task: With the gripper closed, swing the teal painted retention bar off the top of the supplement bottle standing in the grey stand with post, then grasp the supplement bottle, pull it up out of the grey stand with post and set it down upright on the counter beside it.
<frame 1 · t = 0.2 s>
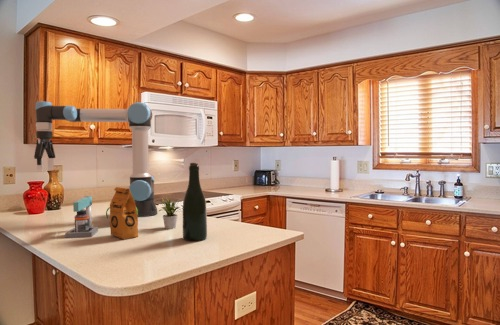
hand: (45, 170, 187), 28 cm above the countertop, fingers open, 13 cm apart
grey stand with post: (82, 234, 161), on the countertop
dark green wine bottle: (195, 239, 152), on the countertop
clip: (83, 203, 163), point 14 cm above the countertop, hinge at 0.0°
house plant: (167, 228, 173), on the countertop
supplement bottle: (82, 234, 161), resting in grey stand with post
snack cup: (122, 224, 183), on the countertop
coffee package: (124, 237, 156), on the countertop
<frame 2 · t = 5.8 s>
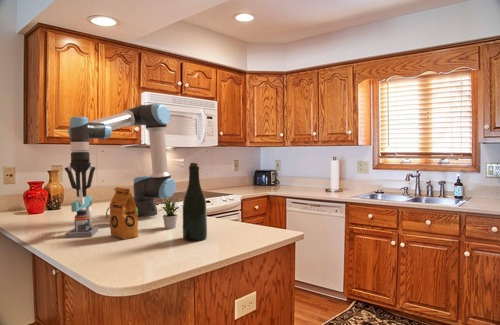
hand: (81, 203, 157), 15 cm above the countertop, fingers closed
clip: (82, 203, 163), point 14 cm above the countertop, hinge at 2.6°, touching gripper
everything else where it was.
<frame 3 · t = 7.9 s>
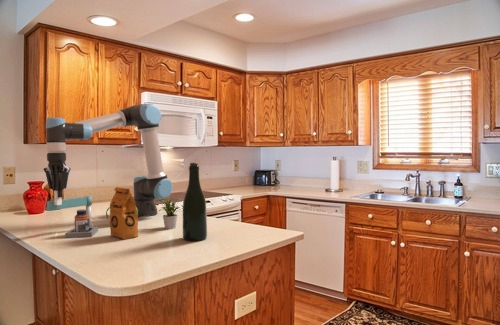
hand: (58, 204, 157), 14 cm above the countertop, fingers closed
clip: (70, 203, 164), point 14 cm above the countertop, hinge at 44.2°, touching gripper
everything else where it was.
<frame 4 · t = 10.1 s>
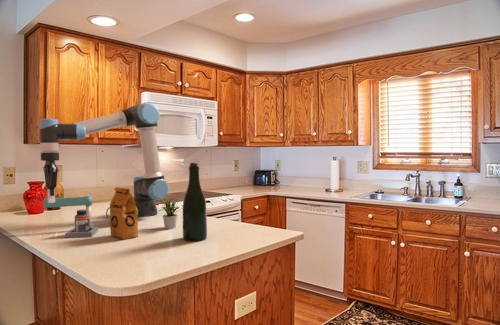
hand: (51, 202, 164), 14 cm above the countertop, fingers closed
clip: (68, 201, 168), point 14 cm above the countertop, hinge at 79.0°, touching gripper
everything else where it was.
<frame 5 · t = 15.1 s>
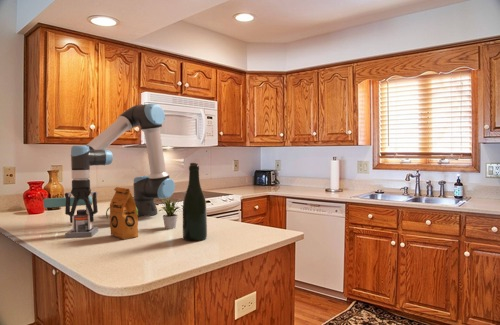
hand: (82, 229, 161), 2 cm above the countertop, fingers closed on supplement bottle, 6 cm apart
clip: (68, 201, 168), point 14 cm above the countertop, hinge at 79.1°
supplement bottle: (82, 234, 161), resting in grey stand with post, touching gripper
everything else where it was.
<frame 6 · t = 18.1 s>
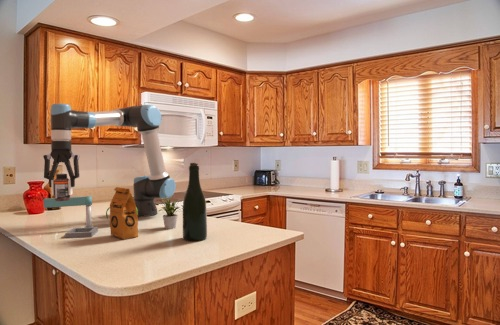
hand: (62, 194, 149), 20 cm above the countertop, fingers closed on supplement bottle, 6 cm apart
supplement bottle: (62, 200, 149), point 17 cm above the countertop, touching gripper
everything else where it was.
when the fingers open (4 cm above the countertop, at t = 21.5 s): supplement bottle drops 1 cm, on the countertop.
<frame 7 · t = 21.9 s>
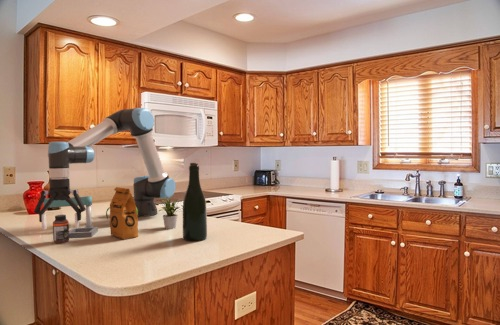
hand: (60, 229, 148), 5 cm above the countertop, fingers open, 12 cm apart
supplement bottle: (61, 242, 148), on the countertop
everything else where it was.
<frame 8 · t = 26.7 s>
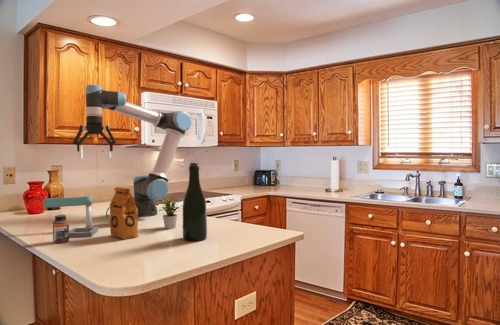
hand: (95, 158, 178), 35 cm above the countertop, fingers open, 13 cm apart
nothing on the countertop moved.
at the end: clip at +79° (first picture: +0°); supplement bottle inside the target area (0.6 cm from its centre), on the countertop; supplement bottle tilted 0° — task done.
